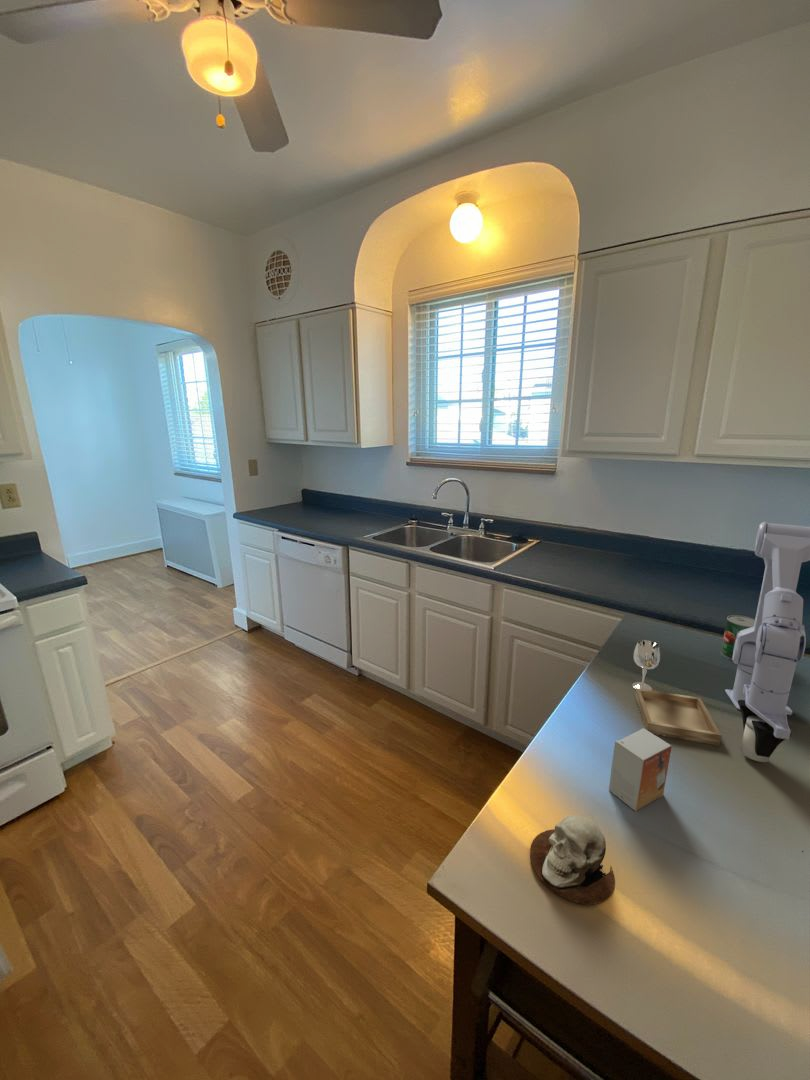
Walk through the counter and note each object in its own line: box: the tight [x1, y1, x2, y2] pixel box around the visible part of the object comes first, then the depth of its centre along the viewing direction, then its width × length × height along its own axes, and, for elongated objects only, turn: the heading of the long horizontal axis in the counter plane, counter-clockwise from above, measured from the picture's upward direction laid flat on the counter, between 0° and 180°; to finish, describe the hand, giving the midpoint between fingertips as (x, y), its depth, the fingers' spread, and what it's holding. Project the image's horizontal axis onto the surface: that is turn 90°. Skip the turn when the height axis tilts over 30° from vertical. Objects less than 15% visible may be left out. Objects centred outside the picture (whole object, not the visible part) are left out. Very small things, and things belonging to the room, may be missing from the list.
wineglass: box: [631, 639, 661, 691], centre depth 111 cm, size 6×6×12 cm
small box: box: [608, 727, 672, 812], centre depth 79 cm, size 8×6×10 cm
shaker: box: [740, 716, 771, 763], centre depth 87 cm, size 5×5×7 cm
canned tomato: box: [720, 614, 755, 661], centre depth 126 cm, size 8×8×11 cm
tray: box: [634, 688, 722, 746], centre depth 99 cm, size 14×14×2 cm
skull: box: [529, 814, 616, 906], centre depth 67 cm, size 12×10×10 cm
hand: (756, 746), depth 87 cm, fingers closed on shaker, 5 cm apart
